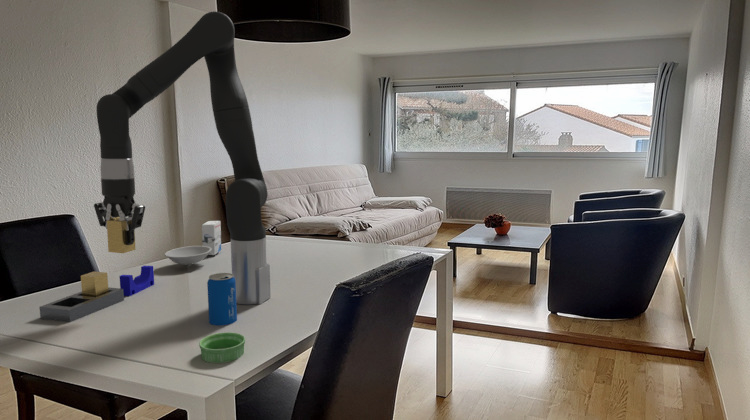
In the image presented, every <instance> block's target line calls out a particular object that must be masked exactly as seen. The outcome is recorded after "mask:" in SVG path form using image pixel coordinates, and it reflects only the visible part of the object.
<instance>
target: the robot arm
mask: <svg viewBox="0 0 750 420" xmlns="http://www.w3.org/2000/svg"><path fill="white" fill-rule="evenodd" d="M235 30H236V29H235V25H234V23H233V21H232V19H231V18H230V17H229V16H228V15H227V14H225V13H224V12H220V11H209V12H206V13H205V14H203V15H202V16H201V17H200V19H198V20H197V22H195V24H194V25H193V26H192V27H191V28H190V29H189V30H188V32H186V33H185V34H184V36H182V37H181V38H180V39H179V40H178V41H177V42H176V43H174V45H172V46H171V47H170V48H168V49H167V50H166V51H165V52H163V53H162V54H160V55H159V56H158V57H156V58H155V59H154V60H151V62H149V63H148V64H147V65H145V66H144V67H142V68H141V69H140V70H138V71H137V72H136V73H134V74H133V75H132V76H131V77H130V78H129V79H128V80H127V81H126V83H125V84H124V85H122V86H121V87H119V88H118V89H117V90H116V91H114V92H112V93H111V94H105V95H103V96H101V97H100V98H99V99H98V101H97V103H96V119H97V126H98V131H99V132H98V133H99V136H100V139H99V140H100V143H99V144H100V145H99V147H100V165H99V167H100V169H99V170H100V183H101V195H102V196H103V197H104V198H103V201H102V202H96V203H94V204H93V208H94V211H95V214H96V217H97V220H98V225H99V226H100V227H104V228H106V230H107V220H114V219H119V218H120V220H121V221H123V222H124V227H125V230H126V231H125V240H126V245H132V244H133V243H134V241H135V242H136V236H135V235H136V234H135V235H134V230H137V229H138V228H141V227H142V224H143V220H144V215H145V211H146V206H145V205H144V204H142V205H140V204H137V203H136V201H135V199H134V196H135V195H136V184H135V167H134V161H133V146H132V145H133V144H132V138H131V137H130V118H132V117H133V116H134V115H136V113H138V112H139V111H140V110H141V109H142V108H143V107H144V106H145V105H146V104H148V103H149V102H151V101H153V100H154V99H156V98H158V96H160V95H161V94H162V93H164V92H165V91H167V90H168V89H169V88H170V87H171V86H172V85H173V84H174V83H176V81H178V79H180V78H181V76H183V74H184V73H185V72H187V71H188V70H189V69H190V68H191V67H192V66H193V65H194V64H195V63H197V62H198V61H200V60H201V59H202V58H204V60H205V63H206V64H205V65H206V67H207V72H208V76H209V90H210V98H211V99H210V100H211V108H212V113H213V117H214V122H215V123H214V124H215V127H216V131H217V133H218V136H219V139H220V140H221V143H222V145H223V147H224V148H225V150H226V152H227V155H228V156H229V158H230V162H231V166H232V169H233V176H234V178H233V179H234V181H233V182H231V183H230V184H229V185H228V187H227V188H226V193H225V210H226V211H225V214H226V225H227V229H228V231H229V233H230V237H229V238H230V256H231V257H230V260H231V262H230V263H231V274H233V277H234V278H235V281H236V305H237V304H238V305H261V304H262V303H264V302H265V301H267V300H269V299H271V296H272V295H271V266H270V264H269V263H267V261H268V260H267V236H266V235H267V233H266V232H267V231H266V227H265V225H264V224H263V221H262V207H264V205H265V204H266V202H267V199H268V189H267V184H266V181H265V178H264V175H263V172H262V169H261V165H260V162H259V157H258V153H257V152H258V150H257V145H256V139H255V133H254V128H253V123H252V122H253V120H252V117H251V112H250V111H251V110H250V106H249V102H248V99H247V94H246V92H245V89H244V86H243V84H242V82H241V78H240V76H239V72H238V69H237V63H236V54H235V36H236V35H235V33H236V31H235ZM128 221H130V225H129V223H128Z"/></svg>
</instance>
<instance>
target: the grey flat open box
mask: <svg viewBox="0 0 750 420" xmlns="http://www.w3.org/2000/svg"><path fill="white" fill-rule="evenodd" d="M108 289H109V293H106V294H103V295H101V296H98V297H88V296H82V291H80V292H76V293H73V294H71V295H68V296H66V297H63V298H60V299H57V300H54V301H51V302H49V303H46V304H43V305H41V306H40V305H39V315H40V316H39V317H40V318H39V319H40V320H44V319H46V320H47V321H53V320H54V322H65V323H71V322H74V321H77V320H79V319H82V318H84V317H87V316H90V315H92V314H94V313H98V312H99V311H101V310H105V309H106V308H109V307H112V306H114V305H117V304H119V303H122V302H123V301H125V296H124V292H123V289H120V288H118V287H109V286H108ZM46 320H45V321H46Z"/></svg>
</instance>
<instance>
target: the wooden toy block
mask: <svg viewBox="0 0 750 420" xmlns="http://www.w3.org/2000/svg"><path fill="white" fill-rule="evenodd" d="M128 223H129V225H130V221H128ZM106 230H107V231H106V232H107V247H108V248H107V251H108V253H117V254H125V253H129V252H132V251H135V250H137V249H136V240H135V241H134V243H133V244H132V245H126V240H125V231H126V230H125V227H124V222H123V221H121V220H120V218H119V219H114V220H107V229H106ZM135 230H136V229H135ZM135 230H134V235H136V234H135V233H136V231H135Z"/></svg>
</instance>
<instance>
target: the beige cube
mask: <svg viewBox="0 0 750 420" xmlns="http://www.w3.org/2000/svg"><path fill="white" fill-rule="evenodd" d="M80 284H81V292H82V296H88V297H98V296H101V295H103V294H106V293H109V289H108V287H109V279H108V272H103V271H91V272H88V273H84V274H82V275H80Z"/></svg>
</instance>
